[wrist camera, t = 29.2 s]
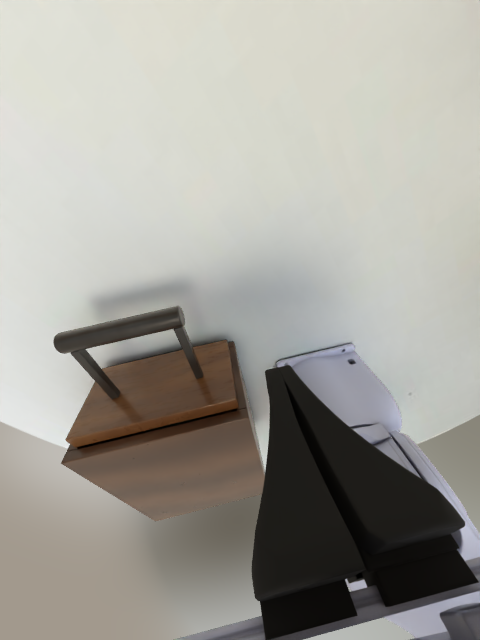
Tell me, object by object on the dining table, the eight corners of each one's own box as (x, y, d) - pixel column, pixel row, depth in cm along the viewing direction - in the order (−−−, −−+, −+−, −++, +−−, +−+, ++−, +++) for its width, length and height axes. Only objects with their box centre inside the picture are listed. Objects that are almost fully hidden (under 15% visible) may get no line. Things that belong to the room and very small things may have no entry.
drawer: (54, 311, 17) (-20, 380, 11) (209, 276, 17) (214, 326, 11) (162, 442, 29) (153, 504, 24) (249, 421, 30) (260, 477, 24)
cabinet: (105, 370, 22) (60, 463, 15) (233, 340, 22) (249, 417, 15) (165, 444, 31) (155, 521, 24) (254, 422, 32) (269, 492, 25)
